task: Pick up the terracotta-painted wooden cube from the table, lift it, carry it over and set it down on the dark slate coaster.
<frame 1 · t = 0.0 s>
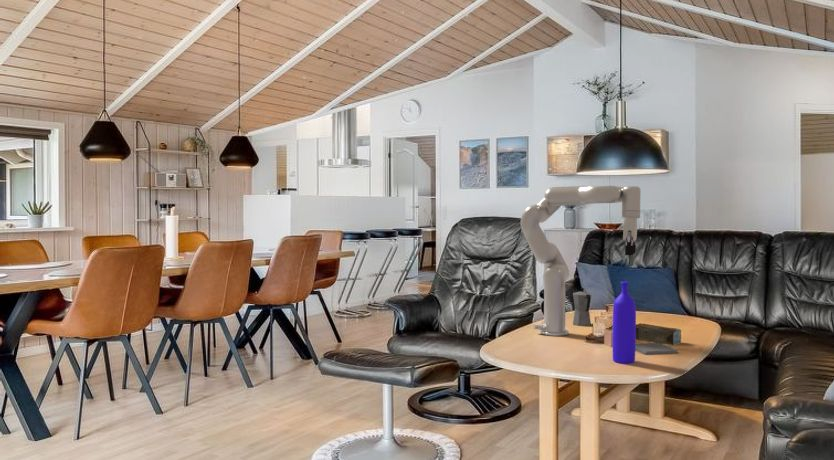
hand: (630, 254, 289), 37 cm above the table, tool pointing down, fingers open, 9 cm apart
coaster: (652, 349, 270), on the table
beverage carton: (656, 341, 288), on the table
bottle: (623, 361, 251), on the table
cube: (614, 345, 279), on the table
coffeepot: (582, 325, 325), on the table
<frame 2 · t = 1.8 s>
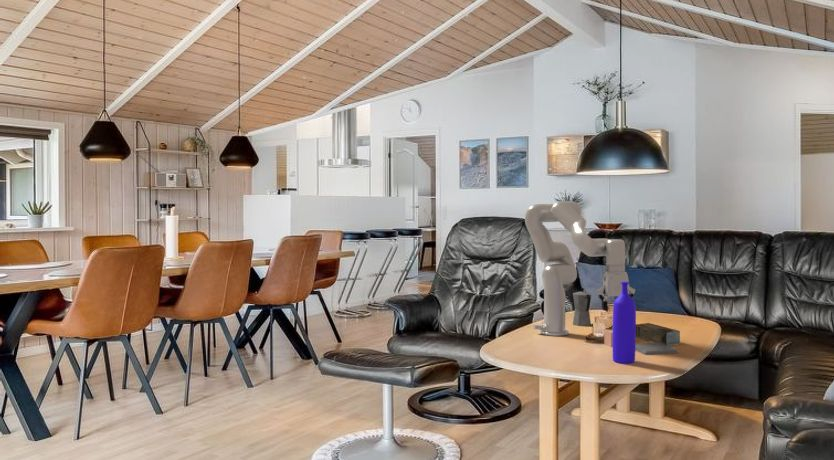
hand: (615, 309, 278), 15 cm above the table, tool pointing down, fingers open, 9 cm apart
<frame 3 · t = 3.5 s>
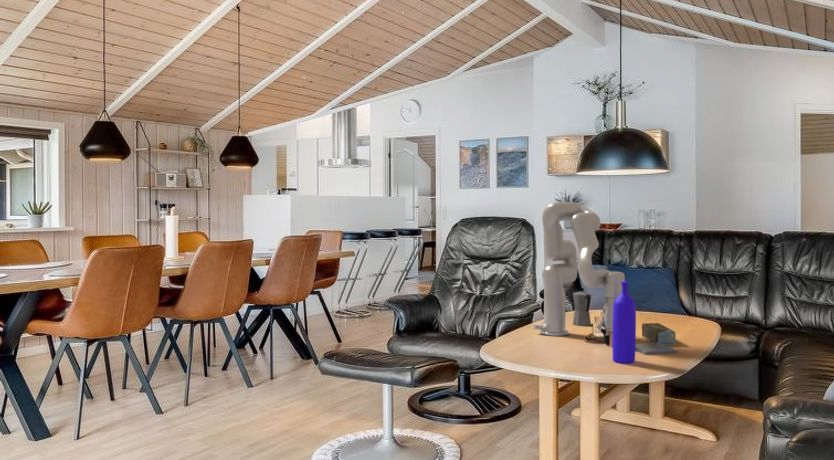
hand: (614, 343, 279), 1 cm above the table, tool pointing down, fingers closed on cube, 6 cm apart
cube: (614, 345, 279), on the table, touching gripper
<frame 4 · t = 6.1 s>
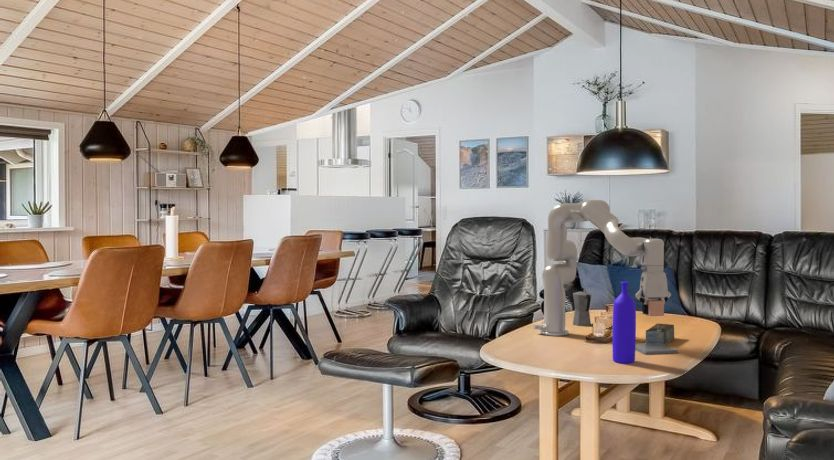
hand: (652, 313, 270), 15 cm above the table, tool pointing down, fingers closed on cube, 6 cm apart
cube: (652, 314, 270), point 14 cm above the table, touching gripper
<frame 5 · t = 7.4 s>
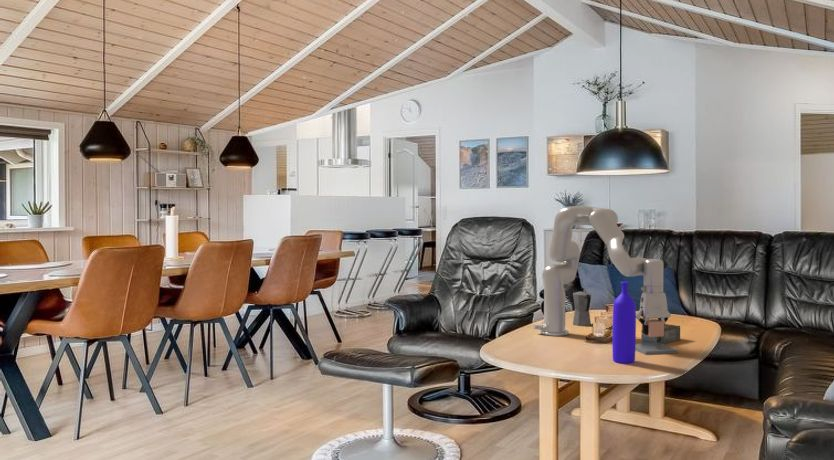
hand: (652, 333, 270), 7 cm above the table, tool pointing down, fingers closed on cube, 6 cm apart
cube: (653, 335, 270), point 6 cm above the table, touching gripper
when the fingers open (3 cm above the table, at t = 8.6 s): cube drops 1 cm, resting on coaster.
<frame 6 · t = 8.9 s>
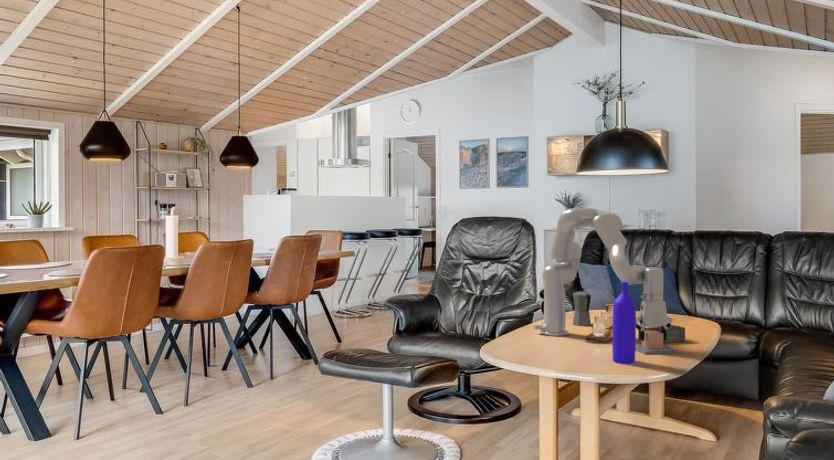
hand: (652, 339, 270), 4 cm above the table, tool pointing down, fingers open, 9 cm apart
cube: (652, 346, 270), point 1 cm above the table, touching coaster
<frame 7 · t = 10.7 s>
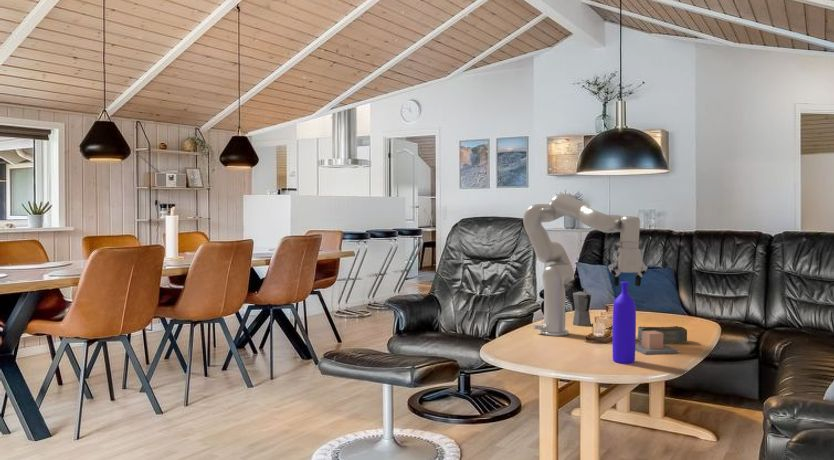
hand: (626, 285, 282), 24 cm above the table, tool pointing down, fingers open, 9 cm apart
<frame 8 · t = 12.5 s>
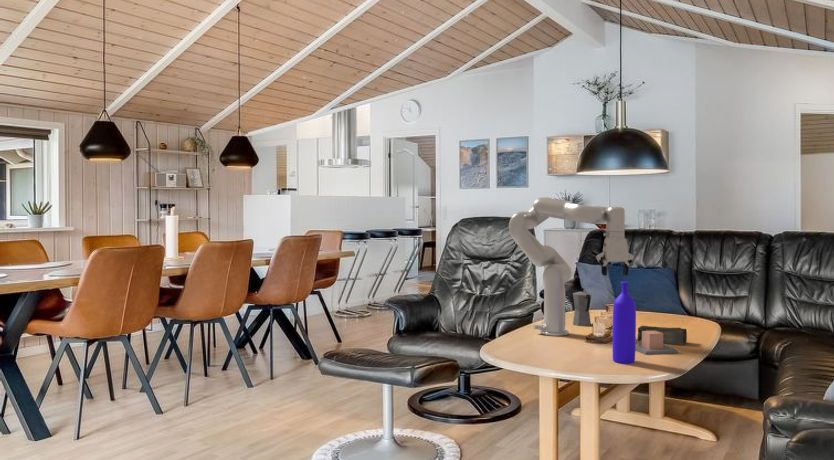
hand: (614, 275, 289), 28 cm above the table, tool pointing down, fingers open, 9 cm apart
at the end: cube inside the target area on the coaster (0.0 cm from its centre), point 1.2 cm above the coaster's base; cube tilted 0°; the gripper is holding nothing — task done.
